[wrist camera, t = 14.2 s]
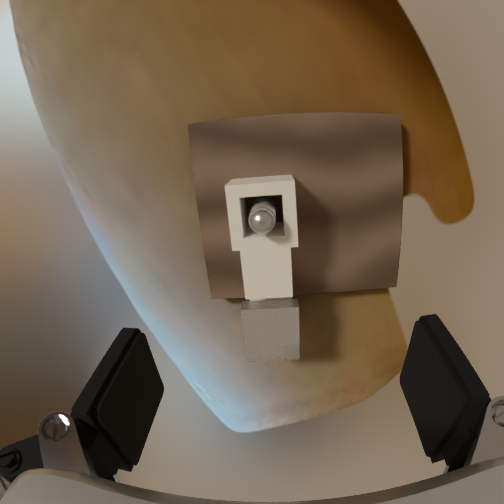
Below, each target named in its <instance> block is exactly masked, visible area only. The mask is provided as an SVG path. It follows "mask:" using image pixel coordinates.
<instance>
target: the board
mask: <svg viewBox="0 0 504 504" xmlns="http://www.w3.org/2000/svg"><path fill="white" fill-rule="evenodd" d="M188 131H189V141H190V150H191V158H192V167H193V175H194V183H195V191H196V199H197V206H198V213H199V220H200V227H201V234H202V241H203V248H204V254H205V261H206V267H207V273H208V279H209V285H210V291H211V297H212V299H218V298H245V292H244V283H243V275H242V266H241V257H240V251H232V245H231V237H230V229H229V220H228V212H227V203H226V194H225V185H226V184H227V183H228V182H229V181H230V180H232V179H240V178H251V177H264V176H278V175H292V176H293V178H294V180H295V193H296V210H297V229H298V247H291V264H292V287H293V295H302V294H317V293H331V292H344V291H356V290H368V289H379V288H390V287H396V285H397V277H398V267H399V256H400V245H401V230H402V209H403V208H402V207H403V150H402V129H401V115H400V114H384V113H357V112H318V113H291V114H274V115H261V116H250V117H240V118H231V119H222V120H215V121H207V122H200V123H194V124H188ZM269 196H270V197H271V198H272V199H273V200H274V201H275V205H276V222H283V208H282V195H269ZM257 197H258V196H255V197H245V201H246V211H247V221H248V218H249V214H250V211H251V208H252V205H253V202H254V200H255V199H256V198H257ZM248 224H249V223H248Z"/></svg>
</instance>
